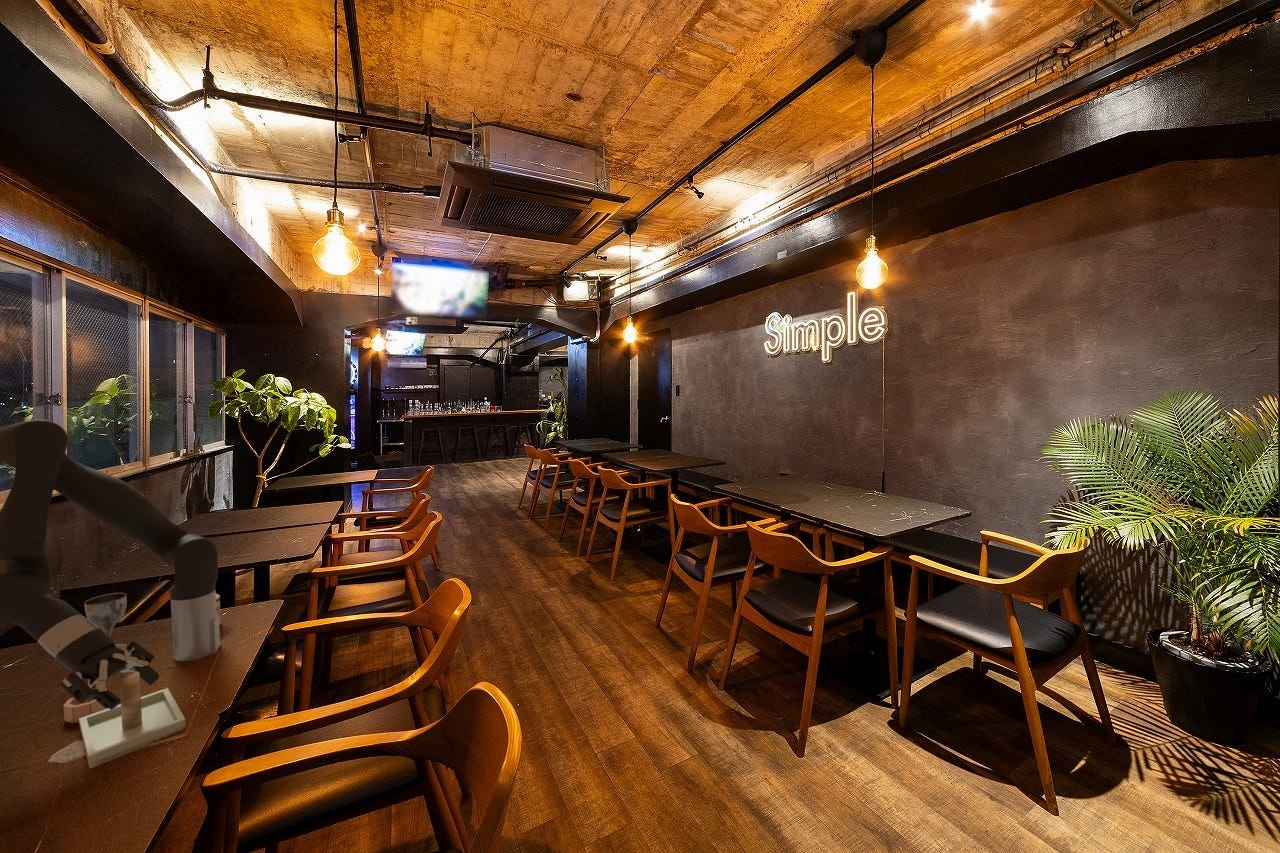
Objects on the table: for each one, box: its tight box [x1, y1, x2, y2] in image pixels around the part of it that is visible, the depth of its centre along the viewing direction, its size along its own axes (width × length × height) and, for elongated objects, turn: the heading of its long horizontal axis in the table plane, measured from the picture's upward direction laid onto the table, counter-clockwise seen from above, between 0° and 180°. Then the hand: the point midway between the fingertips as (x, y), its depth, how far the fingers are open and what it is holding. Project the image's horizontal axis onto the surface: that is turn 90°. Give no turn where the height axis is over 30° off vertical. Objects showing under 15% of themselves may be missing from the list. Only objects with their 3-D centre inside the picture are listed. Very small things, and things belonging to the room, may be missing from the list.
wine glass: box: [84, 592, 128, 649], centre depth 138 cm, size 8×8×15 cm
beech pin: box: [119, 672, 142, 730], centre depth 107 cm, size 3×3×11 cm
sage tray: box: [78, 687, 187, 769], centre depth 107 cm, size 18×14×2 cm
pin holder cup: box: [63, 688, 111, 724], centre depth 112 cm, size 7×7×4 cm
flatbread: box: [47, 739, 87, 764], centre depth 100 cm, size 8×8×1 cm
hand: (136, 693), depth 106 cm, fingers open, 8 cm apart
